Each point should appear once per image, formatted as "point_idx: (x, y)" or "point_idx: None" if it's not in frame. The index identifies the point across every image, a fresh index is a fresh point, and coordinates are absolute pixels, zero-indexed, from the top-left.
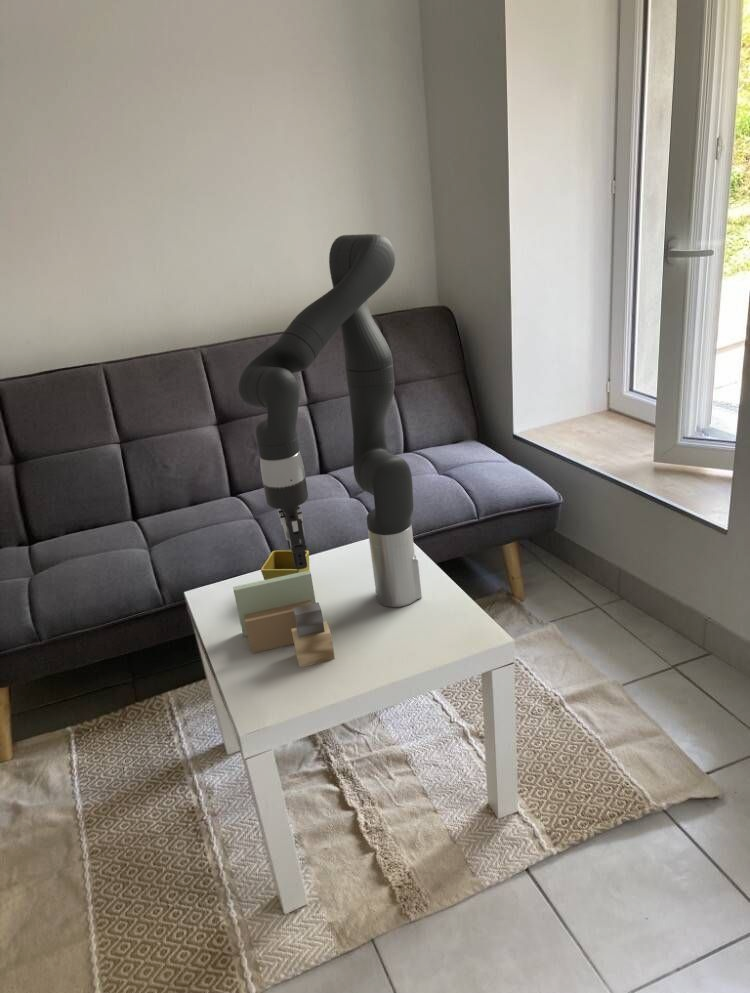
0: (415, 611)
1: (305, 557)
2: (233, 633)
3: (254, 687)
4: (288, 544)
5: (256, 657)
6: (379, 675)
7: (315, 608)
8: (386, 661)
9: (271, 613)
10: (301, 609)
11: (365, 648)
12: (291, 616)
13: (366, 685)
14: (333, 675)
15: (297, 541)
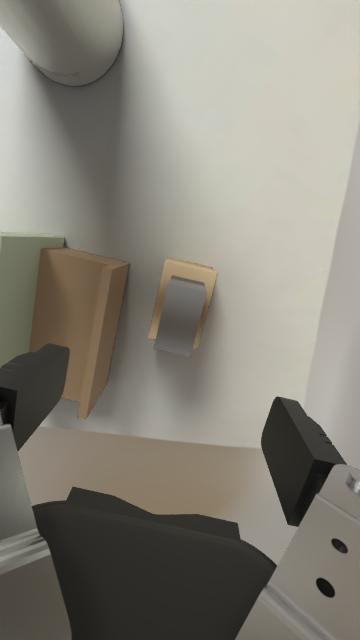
0: (157, 23)
1: (313, 429)
2: None
3: (202, 408)
4: (48, 410)
5: (123, 379)
6: (313, 219)
7: (194, 302)
8: (284, 185)
9: (50, 342)
10: (174, 333)
11: (218, 201)
12: (105, 322)
13: (322, 254)
14: (257, 290)
15: (52, 367)
